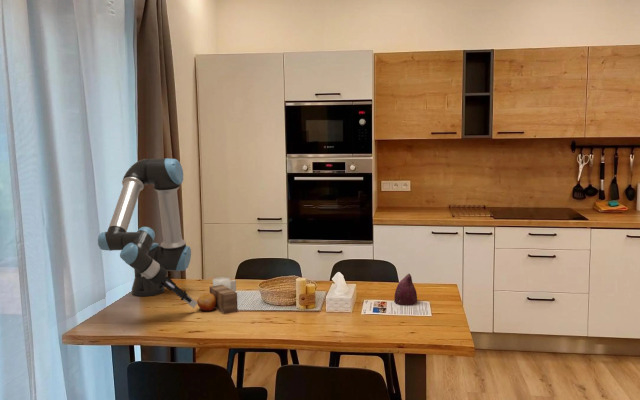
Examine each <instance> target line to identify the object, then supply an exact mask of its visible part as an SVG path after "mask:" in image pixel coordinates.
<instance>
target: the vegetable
mask: <svg viewBox="0 0 640 400" xmlns="http://www.w3.org/2000/svg"><path fill="white" fill-rule="evenodd" d="M417 295H418V294H417V290H416V288H415V285H414V282H413V278H412V275H411V274H410V273H407V274H406V275H405V276H404V277H403V278H402V279H401V280H400V281H399V282H398V284H397V286H396V288H395V292H394V299H393V300H394V303H395V305H397V306H414V305H416V304H417V303H418V296H417Z"/></svg>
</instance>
